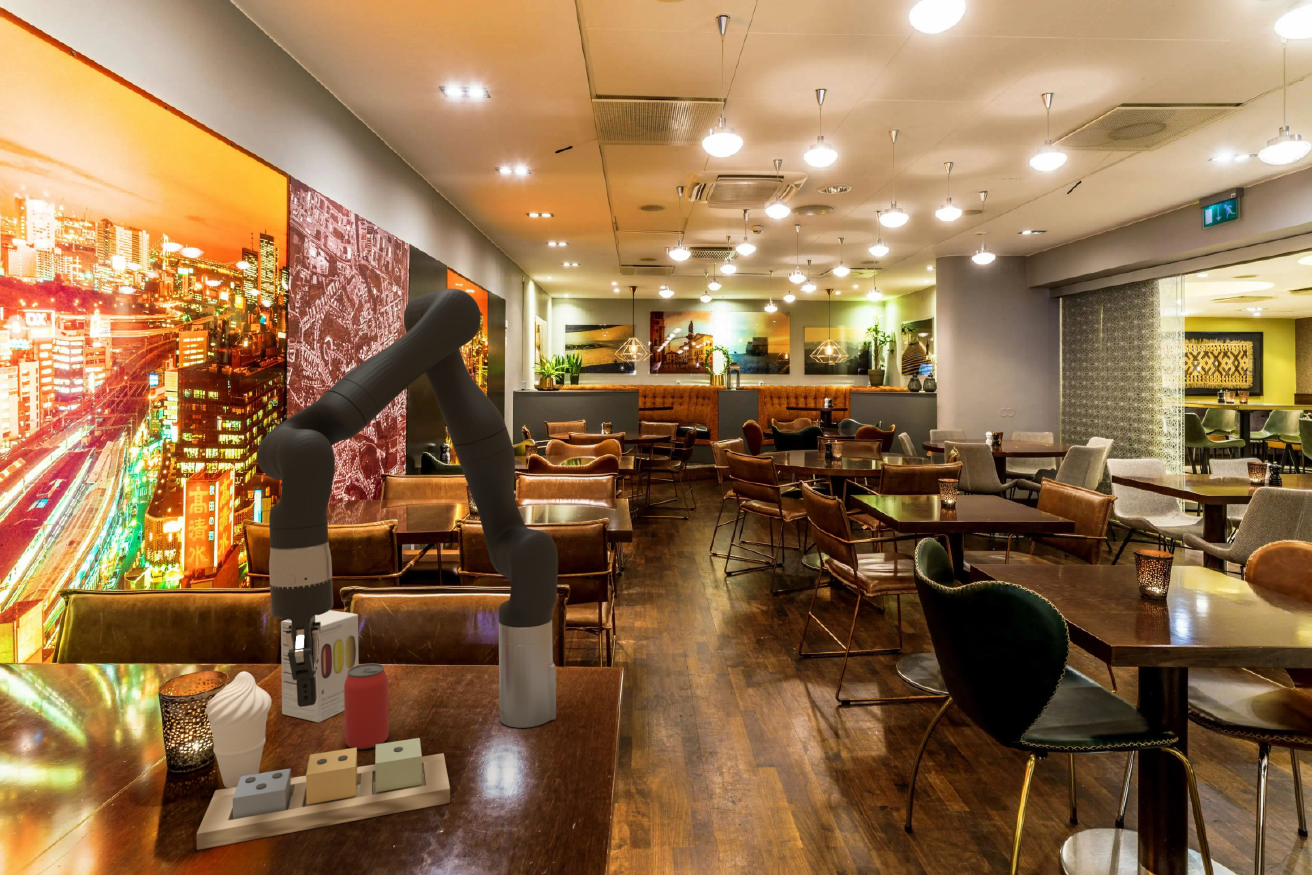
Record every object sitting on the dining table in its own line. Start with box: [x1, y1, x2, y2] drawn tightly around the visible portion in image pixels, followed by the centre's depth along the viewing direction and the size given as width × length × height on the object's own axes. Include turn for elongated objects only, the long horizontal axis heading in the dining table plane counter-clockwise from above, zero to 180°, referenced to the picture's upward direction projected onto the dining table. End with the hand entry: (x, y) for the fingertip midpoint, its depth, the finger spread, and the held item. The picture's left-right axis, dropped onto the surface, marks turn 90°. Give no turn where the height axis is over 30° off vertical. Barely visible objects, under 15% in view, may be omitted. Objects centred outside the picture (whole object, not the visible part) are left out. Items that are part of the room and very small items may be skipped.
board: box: [196, 752, 451, 850], centre depth 100 cm, size 30×11×2 cm, turn 111°
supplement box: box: [280, 609, 359, 723], centre depth 131 cm, size 10×9×17 cm
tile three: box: [233, 768, 292, 819], centre depth 96 cm, size 6×6×4 cm
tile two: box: [305, 747, 358, 804], centre depth 99 cm, size 6×6×4 cm
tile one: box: [374, 737, 423, 792], centre depth 102 cm, size 6×6×4 cm
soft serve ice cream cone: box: [204, 671, 272, 789], centre depth 105 cm, size 8×8×16 cm
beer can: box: [344, 662, 390, 750], centre depth 118 cm, size 7×7×12 cm
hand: (307, 703), depth 98 cm, fingers closed
